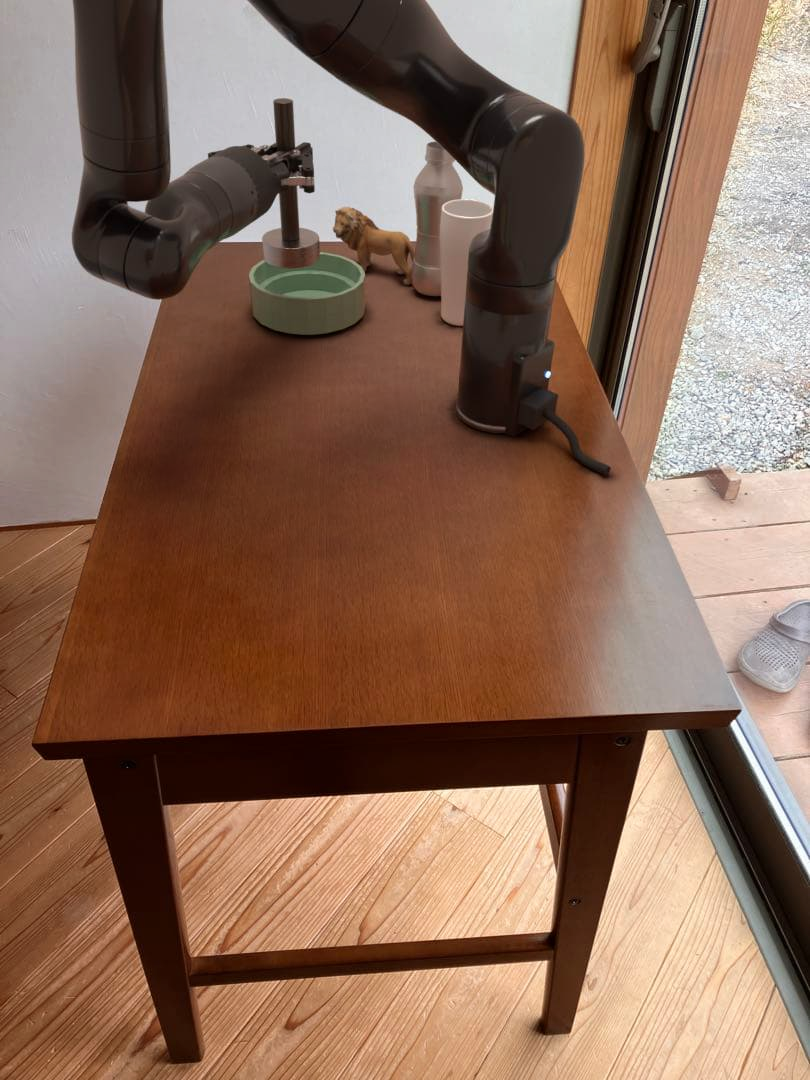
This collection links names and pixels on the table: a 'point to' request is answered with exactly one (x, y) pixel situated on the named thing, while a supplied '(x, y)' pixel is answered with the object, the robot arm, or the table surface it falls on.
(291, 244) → the peg stand
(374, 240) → the lion figurine
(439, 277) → the plastic bottle
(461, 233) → the drinking glass
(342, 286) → the bowl
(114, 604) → the table surface
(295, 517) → the table surface
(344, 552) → the table surface
